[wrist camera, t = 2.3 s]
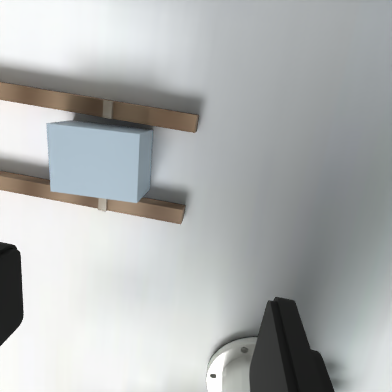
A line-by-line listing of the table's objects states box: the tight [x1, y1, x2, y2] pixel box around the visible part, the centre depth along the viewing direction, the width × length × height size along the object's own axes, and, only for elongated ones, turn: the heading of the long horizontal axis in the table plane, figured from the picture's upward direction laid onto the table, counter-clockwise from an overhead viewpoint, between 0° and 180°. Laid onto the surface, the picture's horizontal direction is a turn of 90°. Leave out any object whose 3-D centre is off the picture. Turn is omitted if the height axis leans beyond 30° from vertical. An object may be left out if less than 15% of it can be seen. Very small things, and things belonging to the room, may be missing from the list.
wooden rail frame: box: [0, 82, 199, 224], centre depth 28 cm, size 30×10×2 cm, turn 81°
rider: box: [47, 120, 153, 203], centre depth 27 cm, size 8×6×4 cm
